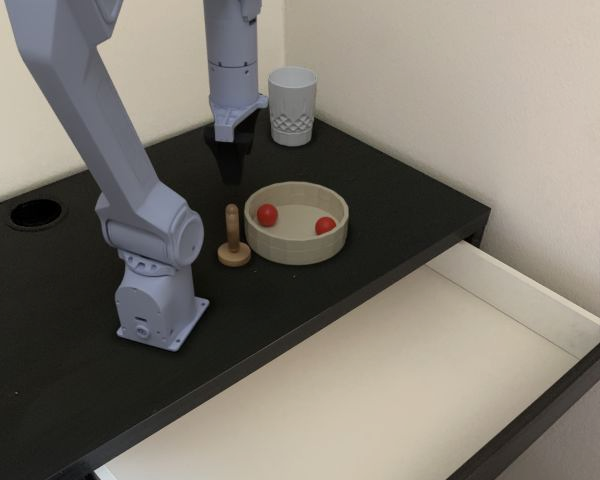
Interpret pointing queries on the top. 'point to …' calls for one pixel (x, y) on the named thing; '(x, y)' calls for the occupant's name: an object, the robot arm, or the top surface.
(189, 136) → the top surface
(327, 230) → the tomato
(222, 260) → the wooden peg stand
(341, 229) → the bowl
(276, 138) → the white cup
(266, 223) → the tomato
